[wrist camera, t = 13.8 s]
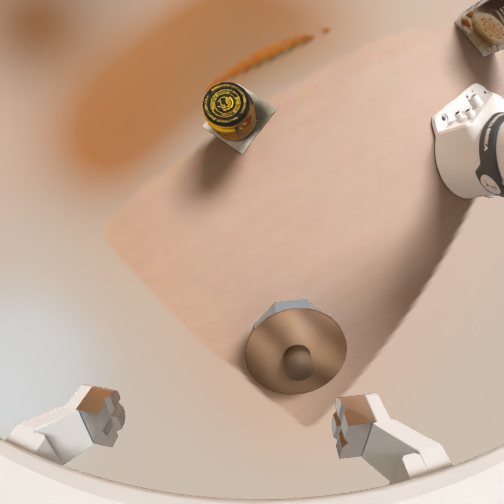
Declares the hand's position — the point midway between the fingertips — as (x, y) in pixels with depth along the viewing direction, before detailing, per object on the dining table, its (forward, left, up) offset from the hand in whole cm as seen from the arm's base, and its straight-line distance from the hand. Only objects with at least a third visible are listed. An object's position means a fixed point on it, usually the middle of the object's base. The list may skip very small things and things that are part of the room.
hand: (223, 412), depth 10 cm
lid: (+9, +16, -31) cm, 36 cm away
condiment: (-12, -12, -37) cm, 41 cm away
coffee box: (-59, +8, -37) cm, 70 cm away
